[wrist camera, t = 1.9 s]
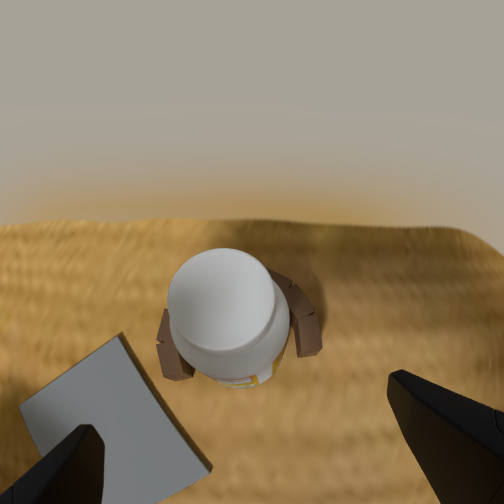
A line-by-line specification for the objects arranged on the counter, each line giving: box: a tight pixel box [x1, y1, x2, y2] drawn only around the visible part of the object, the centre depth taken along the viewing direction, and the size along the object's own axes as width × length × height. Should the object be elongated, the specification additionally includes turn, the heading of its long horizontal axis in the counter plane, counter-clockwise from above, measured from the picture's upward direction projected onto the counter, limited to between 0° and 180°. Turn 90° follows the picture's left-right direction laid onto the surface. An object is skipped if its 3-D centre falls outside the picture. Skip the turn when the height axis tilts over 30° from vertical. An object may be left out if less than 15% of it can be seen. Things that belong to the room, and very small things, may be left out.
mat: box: [18, 336, 211, 504], centre depth 17 cm, size 11×11×1 cm
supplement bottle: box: [167, 248, 290, 388], centre depth 16 cm, size 5×5×10 cm
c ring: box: [156, 267, 323, 381], centre depth 20 cm, size 6×10×2 cm, turn 101°
